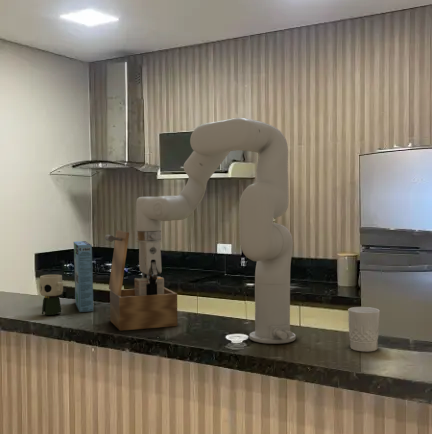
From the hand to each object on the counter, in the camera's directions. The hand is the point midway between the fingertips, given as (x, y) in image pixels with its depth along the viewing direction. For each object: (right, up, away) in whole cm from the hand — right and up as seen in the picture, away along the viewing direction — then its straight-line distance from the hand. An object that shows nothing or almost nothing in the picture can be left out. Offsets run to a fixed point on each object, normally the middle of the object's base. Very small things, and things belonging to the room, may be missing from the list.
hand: (149, 294), depth 185 cm
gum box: (-26, -8, +28) cm, 39 cm away
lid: (-9, +10, -4) cm, 14 cm away
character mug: (-34, -9, +14) cm, 38 cm away
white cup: (+58, -10, -32) cm, 67 cm away
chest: (-2, -9, 0) cm, 9 cm away
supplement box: (0, -8, 0) cm, 8 cm away
